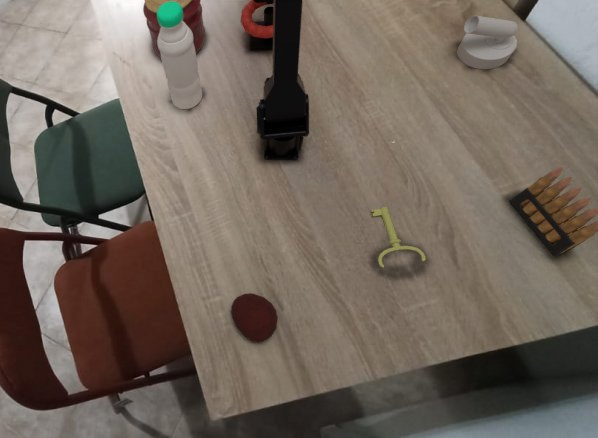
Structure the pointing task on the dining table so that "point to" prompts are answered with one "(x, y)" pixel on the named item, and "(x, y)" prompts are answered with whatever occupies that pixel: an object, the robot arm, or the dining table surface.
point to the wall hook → (487, 42)
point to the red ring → (251, 25)
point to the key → (392, 235)
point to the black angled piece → (263, 43)
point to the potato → (254, 316)
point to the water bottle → (178, 56)
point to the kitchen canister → (190, 17)
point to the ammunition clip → (555, 213)
